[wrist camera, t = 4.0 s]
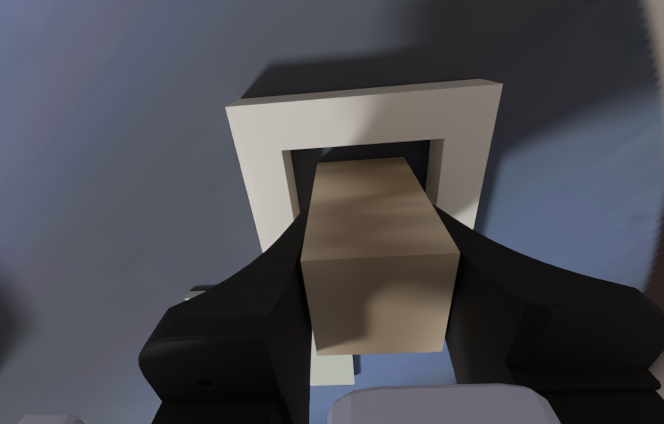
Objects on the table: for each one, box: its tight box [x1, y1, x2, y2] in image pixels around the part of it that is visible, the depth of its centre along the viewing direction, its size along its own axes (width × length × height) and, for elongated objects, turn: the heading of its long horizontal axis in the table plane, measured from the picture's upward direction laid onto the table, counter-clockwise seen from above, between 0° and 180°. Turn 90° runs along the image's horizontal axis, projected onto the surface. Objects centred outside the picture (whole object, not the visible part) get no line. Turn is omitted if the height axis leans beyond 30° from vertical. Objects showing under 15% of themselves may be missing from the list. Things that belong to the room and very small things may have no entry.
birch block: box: [300, 157, 460, 356], centre depth 11 cm, size 4×4×7 cm
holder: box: [225, 79, 503, 253], centre depth 14 cm, size 10×10×2 cm
